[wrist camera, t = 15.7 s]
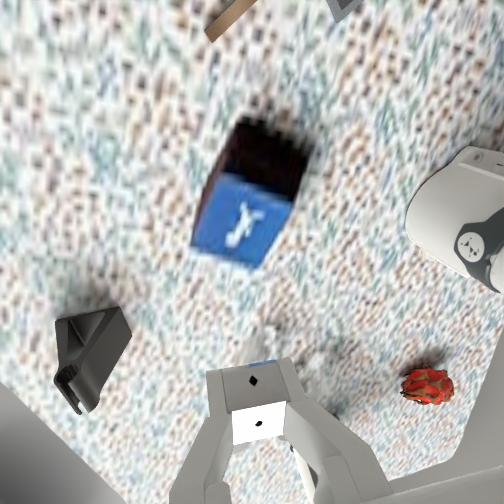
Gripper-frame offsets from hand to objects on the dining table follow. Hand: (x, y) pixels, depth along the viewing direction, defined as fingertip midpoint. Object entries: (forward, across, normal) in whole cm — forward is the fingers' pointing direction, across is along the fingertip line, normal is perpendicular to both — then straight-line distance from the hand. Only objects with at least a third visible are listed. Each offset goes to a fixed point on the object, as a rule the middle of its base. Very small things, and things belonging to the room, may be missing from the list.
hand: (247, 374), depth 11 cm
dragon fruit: (+31, -46, +52) cm, 76 cm away
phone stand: (+31, +17, +25) cm, 44 cm away
